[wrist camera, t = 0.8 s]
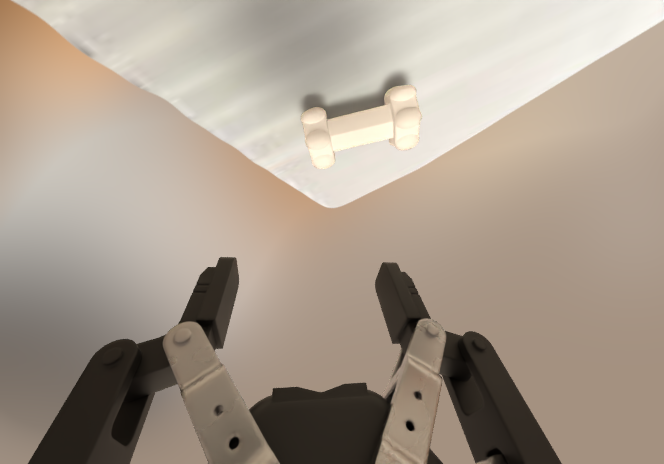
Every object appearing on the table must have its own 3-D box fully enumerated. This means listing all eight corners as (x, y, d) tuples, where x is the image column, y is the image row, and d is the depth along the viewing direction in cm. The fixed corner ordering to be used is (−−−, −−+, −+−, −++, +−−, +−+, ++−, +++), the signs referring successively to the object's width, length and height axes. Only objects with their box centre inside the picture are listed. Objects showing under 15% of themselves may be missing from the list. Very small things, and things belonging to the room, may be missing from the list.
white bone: (407, 68, 32) (427, 97, 27) (403, 128, 38) (419, 159, 34) (298, 97, 33) (299, 129, 28) (314, 149, 40) (317, 182, 35)
